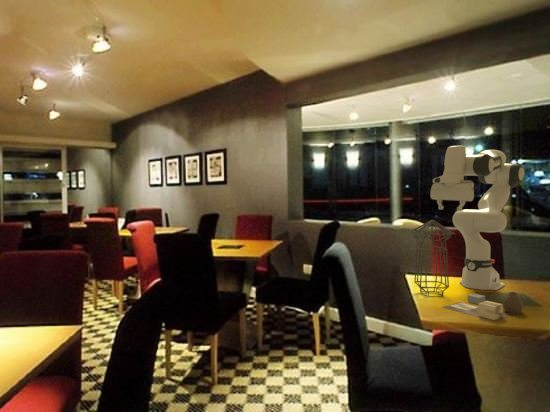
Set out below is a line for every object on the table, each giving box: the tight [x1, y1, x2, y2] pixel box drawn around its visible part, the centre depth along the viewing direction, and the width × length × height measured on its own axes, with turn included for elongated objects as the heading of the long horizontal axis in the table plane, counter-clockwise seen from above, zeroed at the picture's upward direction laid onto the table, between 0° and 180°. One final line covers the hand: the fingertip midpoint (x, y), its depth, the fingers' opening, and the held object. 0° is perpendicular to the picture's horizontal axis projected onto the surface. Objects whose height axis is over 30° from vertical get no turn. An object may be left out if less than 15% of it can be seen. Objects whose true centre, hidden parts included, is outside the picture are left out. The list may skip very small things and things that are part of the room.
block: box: [478, 300, 504, 321], centre depth 156 cm, size 6×6×5 cm
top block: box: [467, 293, 486, 305], centre depth 176 cm, size 5×5×4 cm
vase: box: [502, 291, 524, 315], centre depth 162 cm, size 7×7×9 cm
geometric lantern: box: [411, 219, 456, 298], centre depth 192 cm, size 16×16×35 cm
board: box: [441, 301, 514, 323], centre depth 164 cm, size 13×22×1 cm, turn 34°
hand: (449, 210), depth 189 cm, fingers open, 8 cm apart
